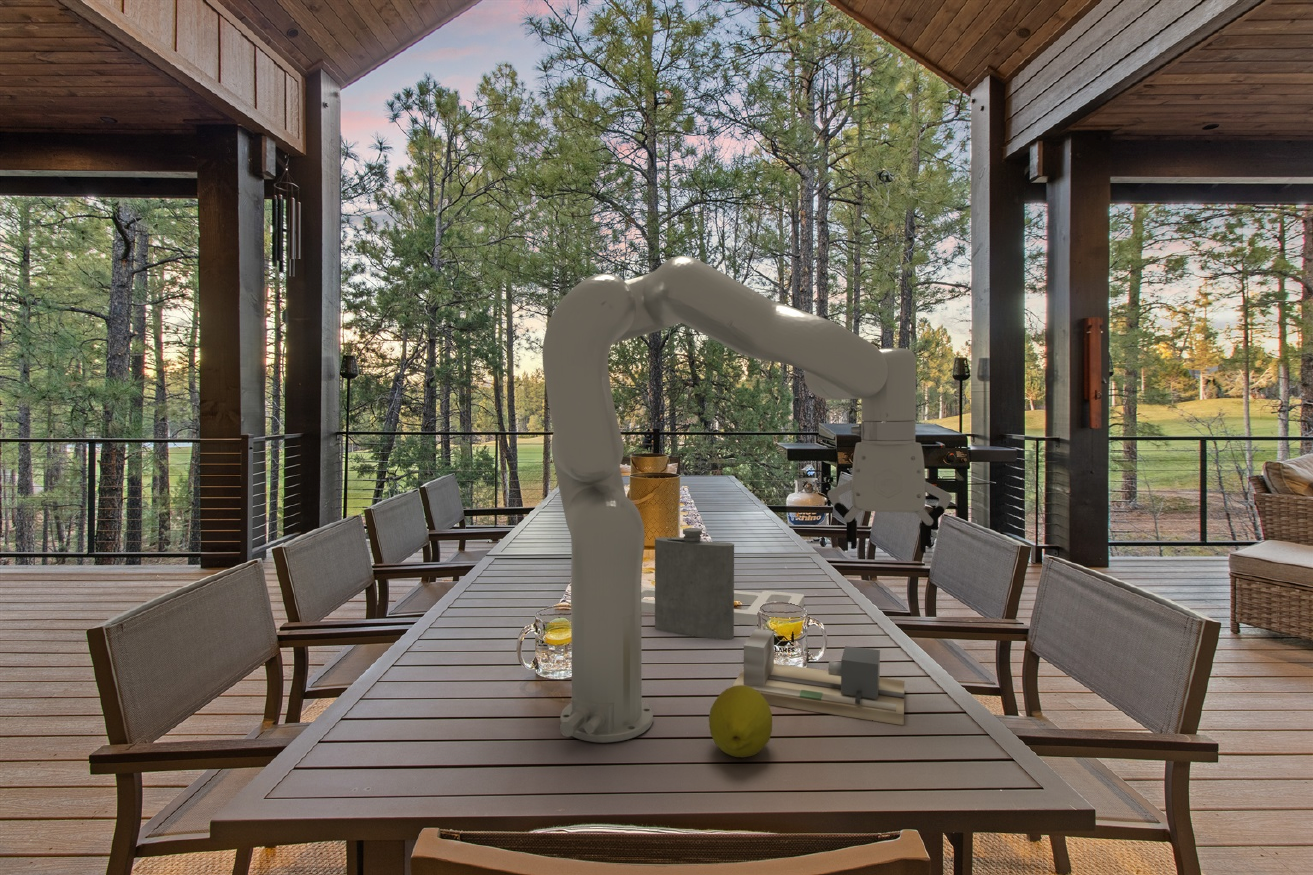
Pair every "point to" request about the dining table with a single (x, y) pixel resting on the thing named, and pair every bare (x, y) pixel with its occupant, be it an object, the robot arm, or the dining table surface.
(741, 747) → the lemon
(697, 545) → the hip flask
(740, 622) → the holder
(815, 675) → the track board
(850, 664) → the block
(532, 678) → the dining table surface
